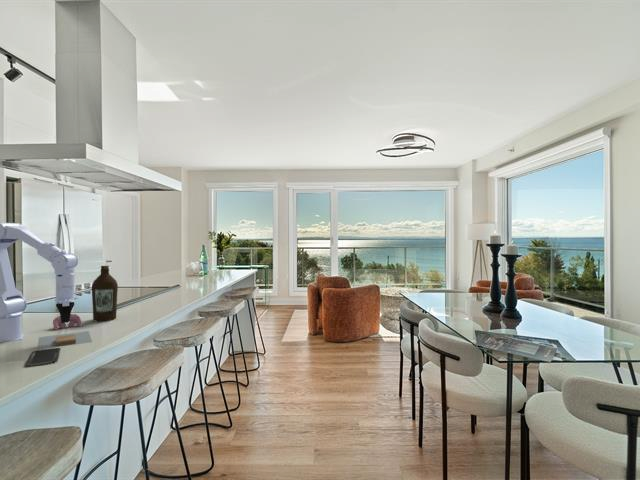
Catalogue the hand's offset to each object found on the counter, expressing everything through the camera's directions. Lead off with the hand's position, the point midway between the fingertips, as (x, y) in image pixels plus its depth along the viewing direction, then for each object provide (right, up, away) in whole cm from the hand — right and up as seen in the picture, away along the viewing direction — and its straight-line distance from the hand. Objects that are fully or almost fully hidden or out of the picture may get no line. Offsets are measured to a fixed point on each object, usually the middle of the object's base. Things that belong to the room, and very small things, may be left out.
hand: (65, 322), depth 138 cm
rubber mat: (0, -7, 0) cm, 7 cm away
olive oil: (-6, -6, +35) cm, 36 cm away
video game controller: (-12, -7, +18) cm, 23 cm away
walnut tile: (0, -6, 0) cm, 6 cm away
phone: (+6, -8, -19) cm, 21 cm away
